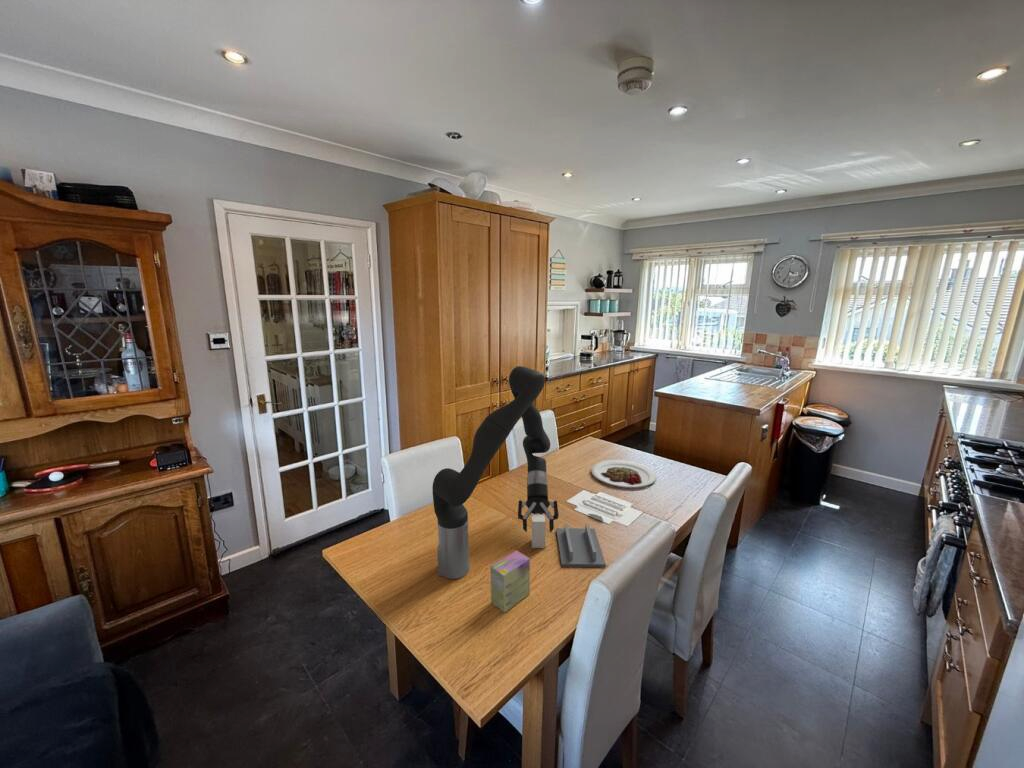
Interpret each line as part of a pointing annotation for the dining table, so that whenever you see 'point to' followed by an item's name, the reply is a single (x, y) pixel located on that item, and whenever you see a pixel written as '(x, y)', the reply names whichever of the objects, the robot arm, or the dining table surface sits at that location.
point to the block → (538, 531)
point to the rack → (579, 547)
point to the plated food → (623, 473)
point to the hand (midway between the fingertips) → (538, 531)
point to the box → (510, 580)
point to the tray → (605, 507)
